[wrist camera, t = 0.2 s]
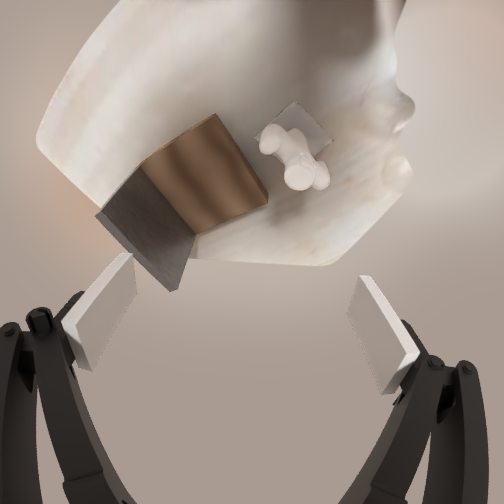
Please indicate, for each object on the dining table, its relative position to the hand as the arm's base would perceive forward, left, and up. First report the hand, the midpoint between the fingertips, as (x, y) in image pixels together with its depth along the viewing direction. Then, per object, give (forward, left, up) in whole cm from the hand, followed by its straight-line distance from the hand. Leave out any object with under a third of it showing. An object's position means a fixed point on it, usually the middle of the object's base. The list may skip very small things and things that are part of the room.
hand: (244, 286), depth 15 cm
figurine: (-3, +2, -28) cm, 28 cm away
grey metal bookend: (+19, 0, -25) cm, 31 cm away
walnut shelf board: (+12, +1, -28) cm, 30 cm away
